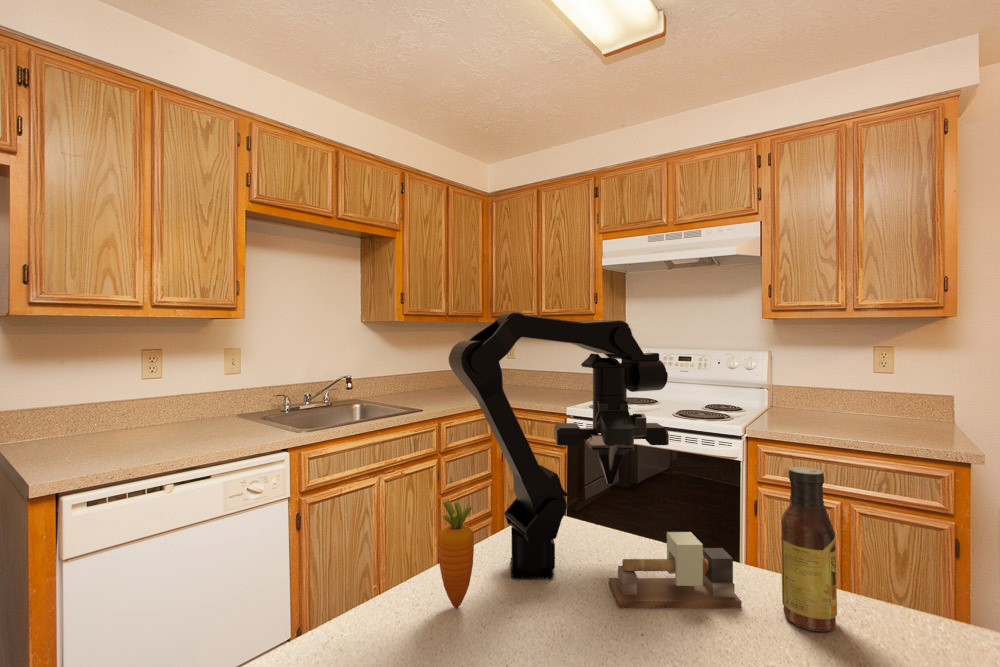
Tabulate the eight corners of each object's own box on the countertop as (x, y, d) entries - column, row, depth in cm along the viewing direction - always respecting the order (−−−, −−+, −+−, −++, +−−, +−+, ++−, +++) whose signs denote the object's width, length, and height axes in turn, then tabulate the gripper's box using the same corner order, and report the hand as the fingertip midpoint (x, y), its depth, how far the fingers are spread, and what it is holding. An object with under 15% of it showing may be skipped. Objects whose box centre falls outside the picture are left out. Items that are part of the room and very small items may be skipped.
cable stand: (618, 608, 69) (618, 563, 69) (608, 584, 76) (608, 543, 76) (741, 608, 69) (741, 563, 69) (721, 584, 76) (721, 543, 76)
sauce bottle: (846, 637, 63) (846, 479, 62) (791, 631, 64) (791, 476, 64) (823, 608, 69) (823, 465, 69) (774, 604, 70) (774, 463, 70)
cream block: (677, 585, 70) (677, 544, 70) (666, 570, 75) (666, 532, 75) (702, 585, 70) (702, 544, 70) (691, 570, 75) (691, 531, 75)
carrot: (481, 607, 70) (481, 500, 70) (455, 622, 66) (454, 509, 66) (457, 594, 73) (457, 492, 73) (431, 608, 70) (430, 500, 70)
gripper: (560, 400, 78) (561, 499, 78) (680, 399, 78) (680, 499, 78) (553, 391, 89) (553, 478, 90) (658, 391, 89) (658, 478, 90)
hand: (609, 483), depth 87 cm, fingers closed
